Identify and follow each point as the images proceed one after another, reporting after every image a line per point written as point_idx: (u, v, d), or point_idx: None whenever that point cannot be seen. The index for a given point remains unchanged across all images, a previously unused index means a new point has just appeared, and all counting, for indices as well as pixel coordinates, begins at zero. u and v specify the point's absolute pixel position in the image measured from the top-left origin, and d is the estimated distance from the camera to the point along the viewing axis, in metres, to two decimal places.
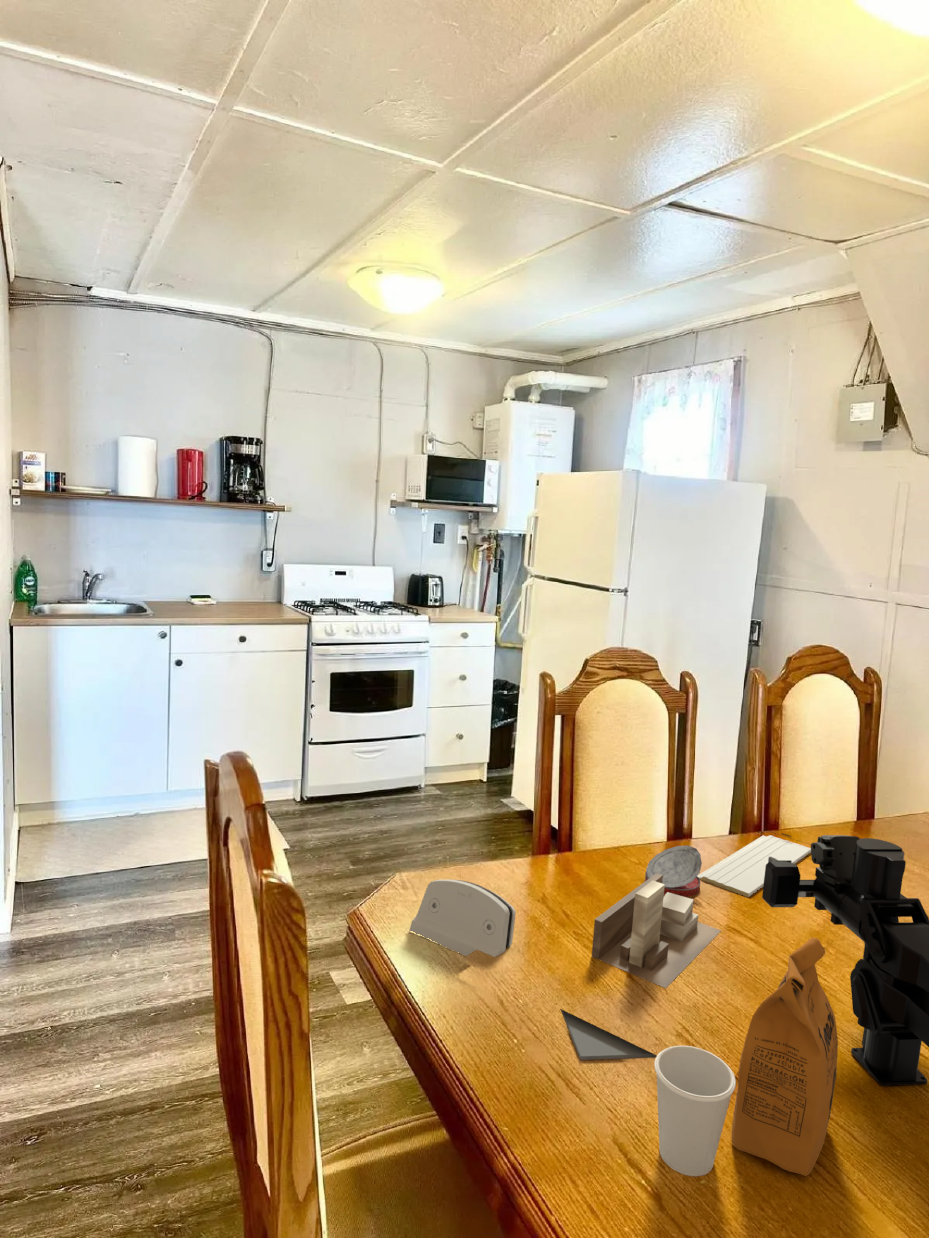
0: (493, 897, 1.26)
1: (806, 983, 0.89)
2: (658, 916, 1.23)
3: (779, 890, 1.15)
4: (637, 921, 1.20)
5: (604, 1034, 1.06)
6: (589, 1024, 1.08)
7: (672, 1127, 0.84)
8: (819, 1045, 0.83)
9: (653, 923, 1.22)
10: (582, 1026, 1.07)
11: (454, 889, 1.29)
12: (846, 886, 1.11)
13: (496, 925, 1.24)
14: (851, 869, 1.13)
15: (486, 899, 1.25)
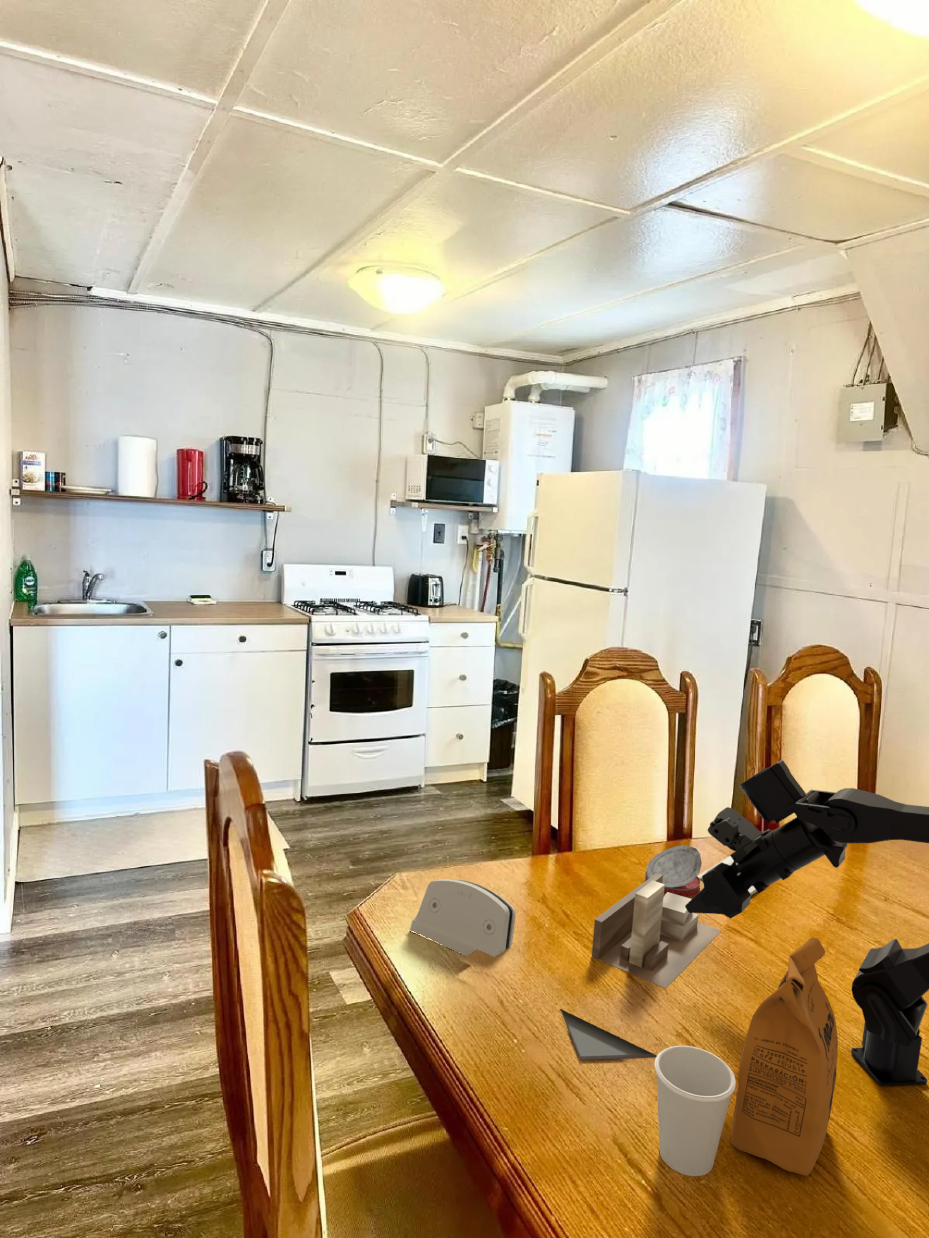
0: (493, 897, 1.26)
1: (806, 983, 0.89)
2: (658, 916, 1.23)
3: (733, 887, 1.06)
4: (637, 921, 1.20)
5: (604, 1034, 1.06)
6: (589, 1024, 1.08)
7: (672, 1127, 0.84)
8: (819, 1045, 0.83)
9: (653, 923, 1.22)
10: (582, 1026, 1.07)
11: (455, 889, 1.29)
12: (764, 837, 1.10)
13: (496, 925, 1.24)
14: (751, 830, 1.13)
15: (486, 899, 1.26)
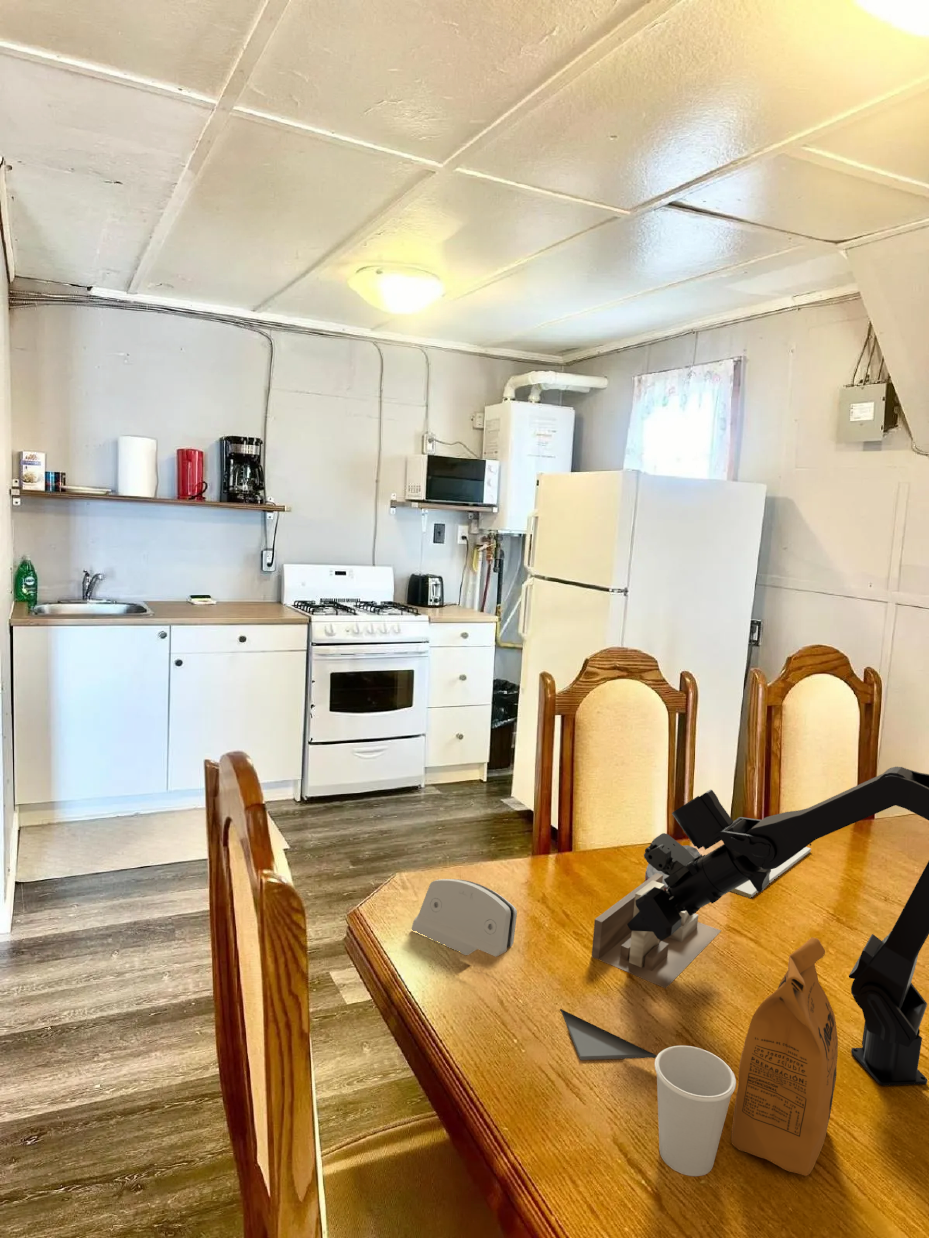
0: (494, 897, 1.26)
1: (806, 983, 0.89)
2: None
3: (663, 911, 1.12)
4: None
5: (604, 1034, 1.06)
6: (589, 1024, 1.08)
7: (672, 1127, 0.84)
8: (819, 1045, 0.83)
9: None
10: (582, 1026, 1.07)
11: (456, 889, 1.29)
12: (695, 863, 1.16)
13: (497, 925, 1.24)
14: (684, 855, 1.19)
15: (487, 899, 1.26)
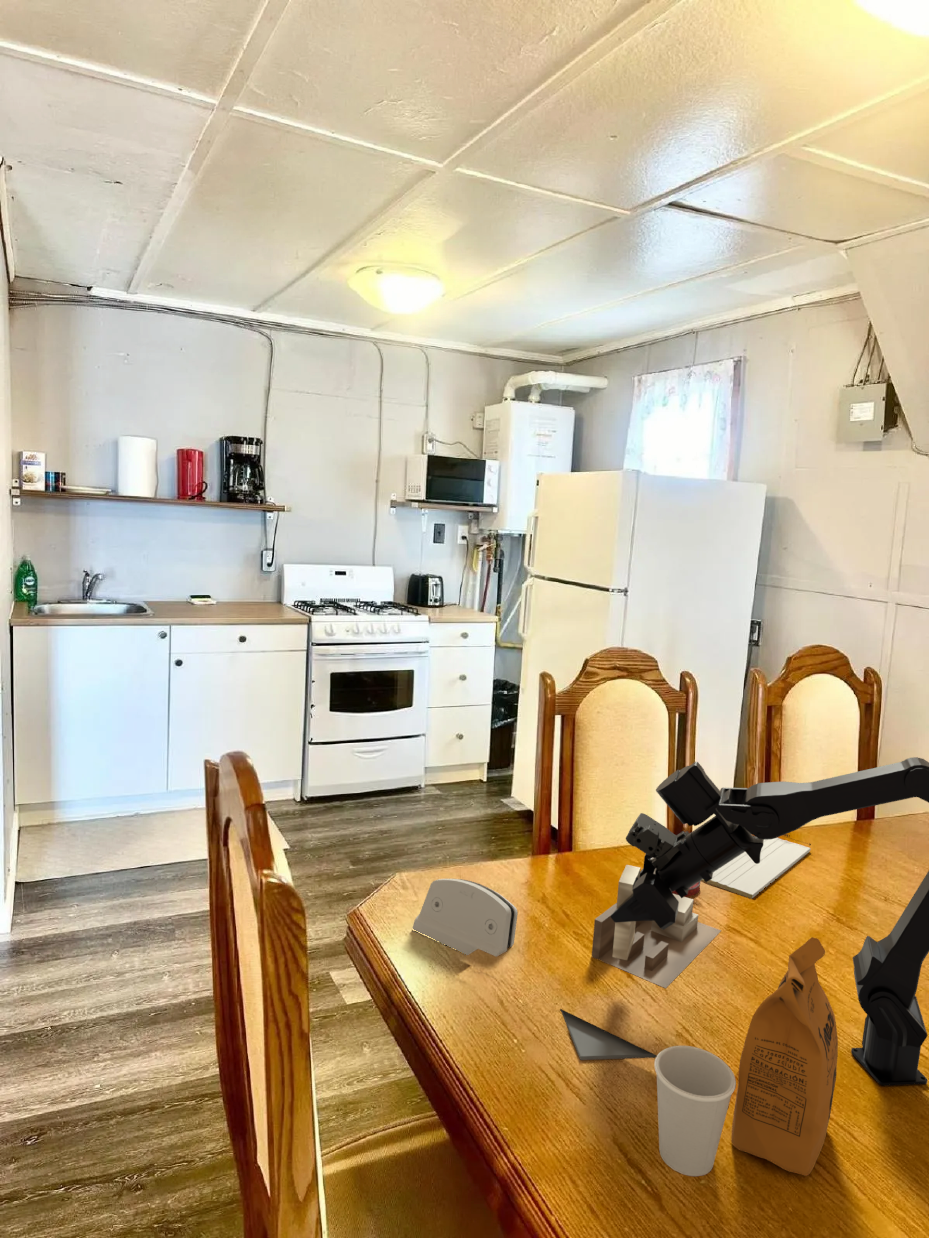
0: (495, 897, 1.26)
1: (806, 983, 0.89)
2: None
3: (665, 897, 1.03)
4: None
5: (604, 1034, 1.06)
6: (589, 1024, 1.08)
7: (672, 1127, 0.84)
8: (819, 1045, 0.83)
9: None
10: (582, 1026, 1.07)
11: (457, 888, 1.29)
12: (684, 841, 1.08)
13: (498, 925, 1.24)
14: (667, 834, 1.11)
15: (488, 899, 1.26)
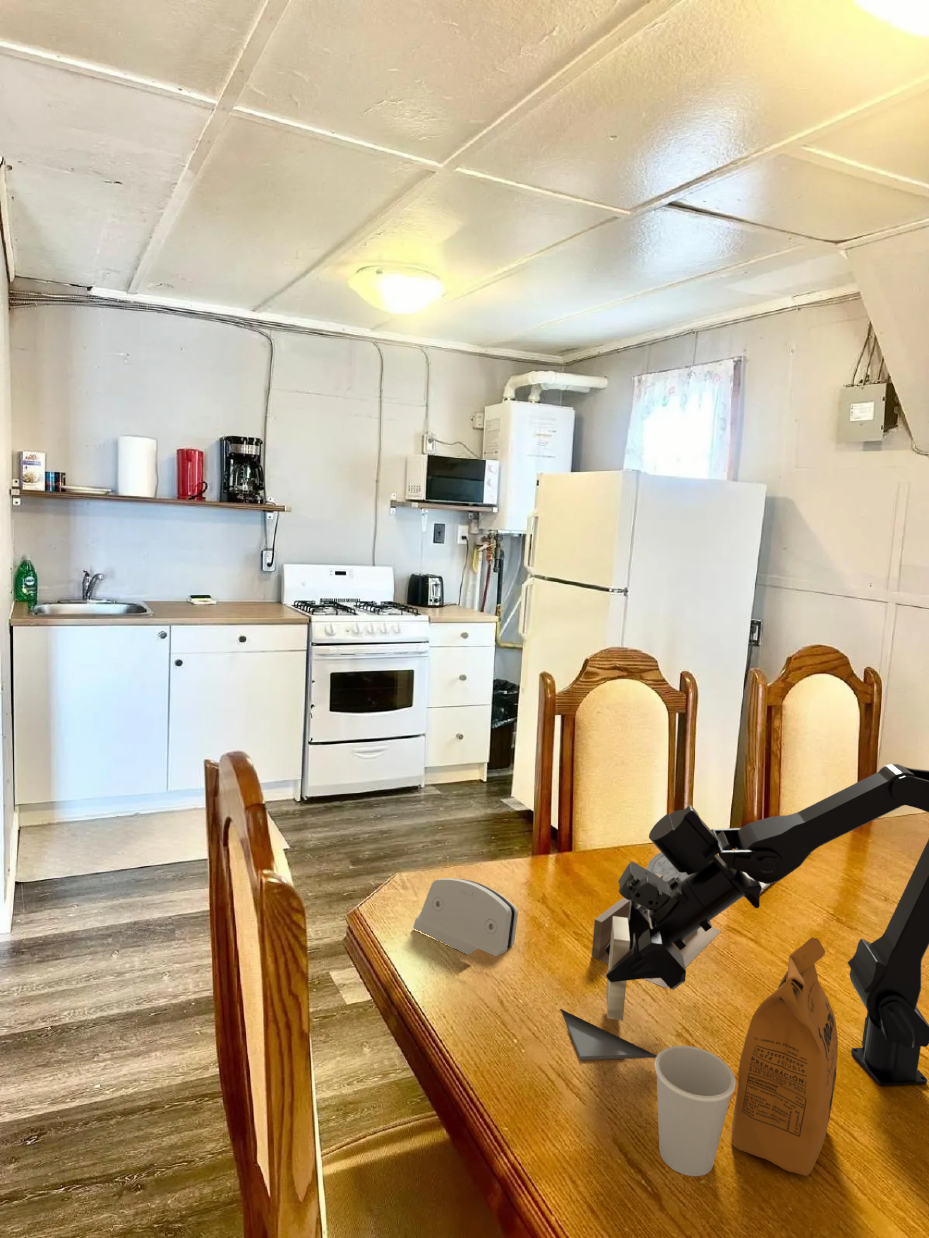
0: (495, 897, 1.26)
1: (806, 983, 0.89)
2: None
3: (674, 956, 0.97)
4: None
5: (604, 1034, 1.06)
6: (589, 1024, 1.08)
7: (672, 1127, 0.84)
8: (819, 1045, 0.83)
9: None
10: (582, 1026, 1.07)
11: (458, 888, 1.29)
12: (681, 890, 1.03)
13: (498, 925, 1.24)
14: (660, 883, 1.05)
15: (488, 898, 1.26)
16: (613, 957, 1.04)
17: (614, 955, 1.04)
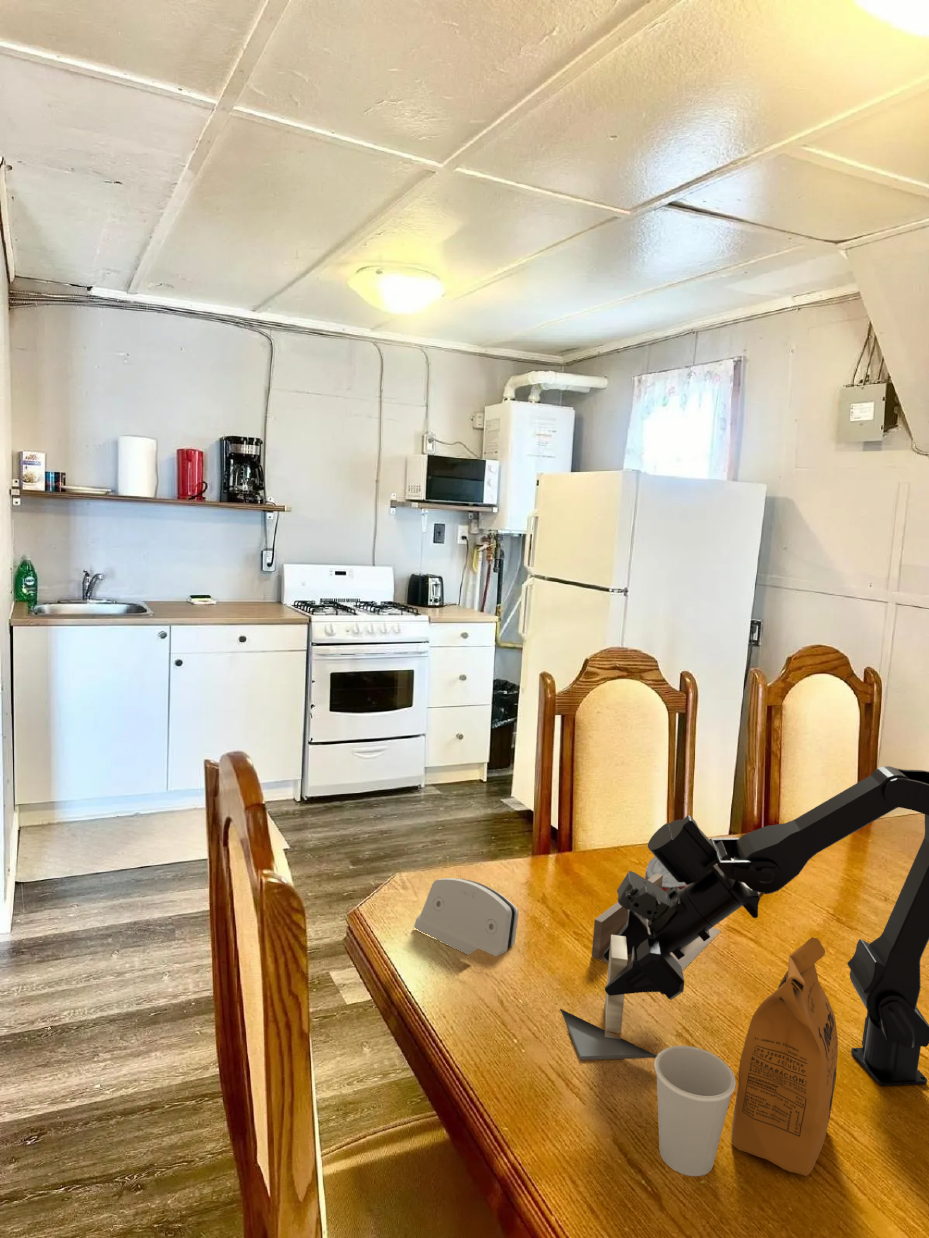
0: (496, 897, 1.26)
1: (806, 983, 0.89)
2: None
3: (672, 966, 0.97)
4: None
5: (604, 1034, 1.06)
6: (589, 1024, 1.08)
7: (672, 1127, 0.84)
8: (819, 1045, 0.83)
9: None
10: (582, 1026, 1.07)
11: (458, 888, 1.29)
12: (680, 900, 1.03)
13: (498, 925, 1.24)
14: (659, 892, 1.05)
15: (489, 898, 1.26)
16: (611, 976, 1.04)
17: (612, 974, 1.04)
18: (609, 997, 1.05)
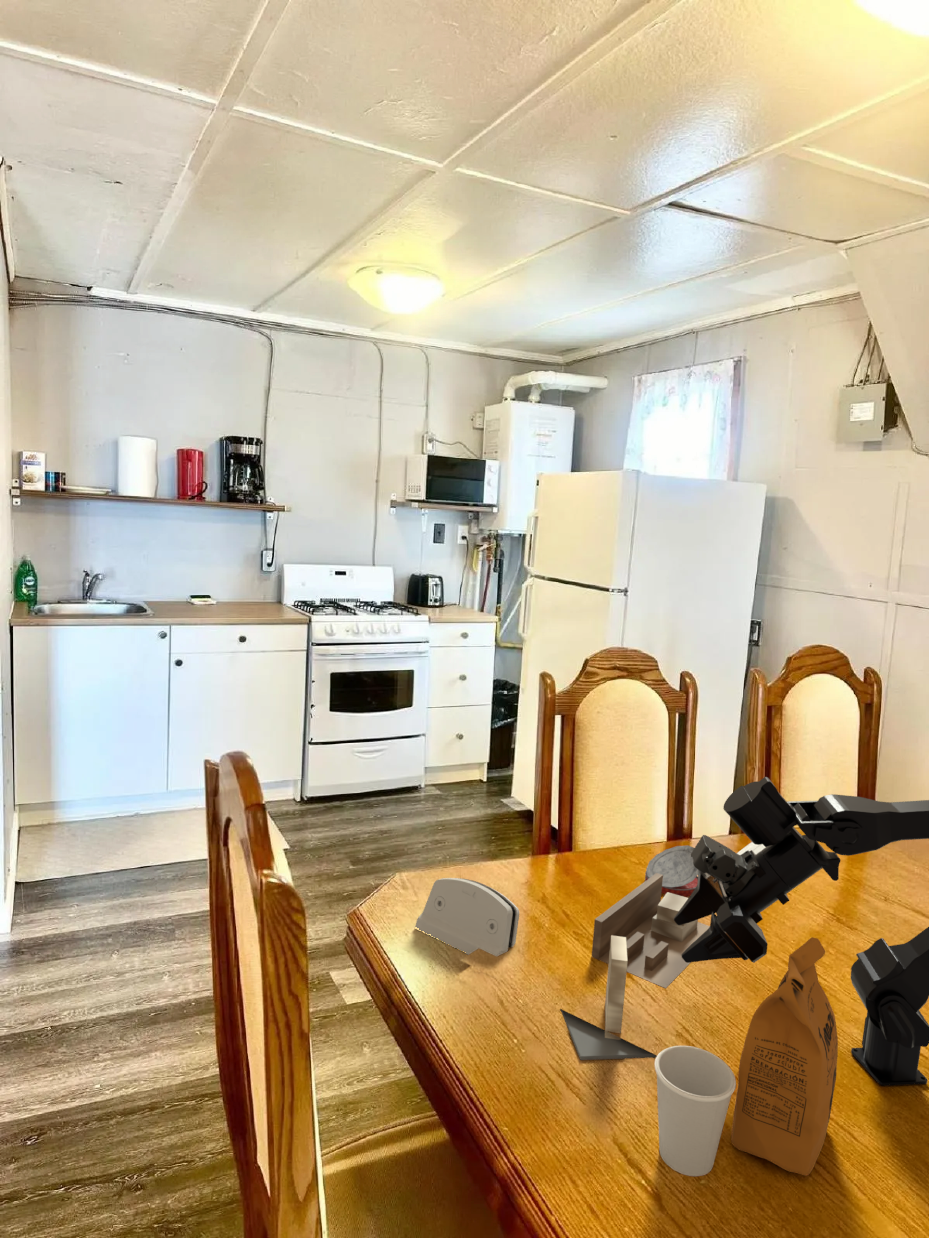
0: (497, 897, 1.26)
1: (806, 983, 0.89)
2: None
3: (755, 928, 0.95)
4: (614, 989, 1.04)
5: (604, 1034, 1.06)
6: (589, 1024, 1.08)
7: (672, 1127, 0.84)
8: (819, 1045, 0.83)
9: None
10: (582, 1026, 1.07)
11: (459, 888, 1.29)
12: (758, 863, 1.01)
13: (499, 924, 1.24)
14: (735, 856, 1.03)
15: (490, 898, 1.26)
16: (611, 977, 1.04)
17: (612, 975, 1.04)
18: (609, 998, 1.05)
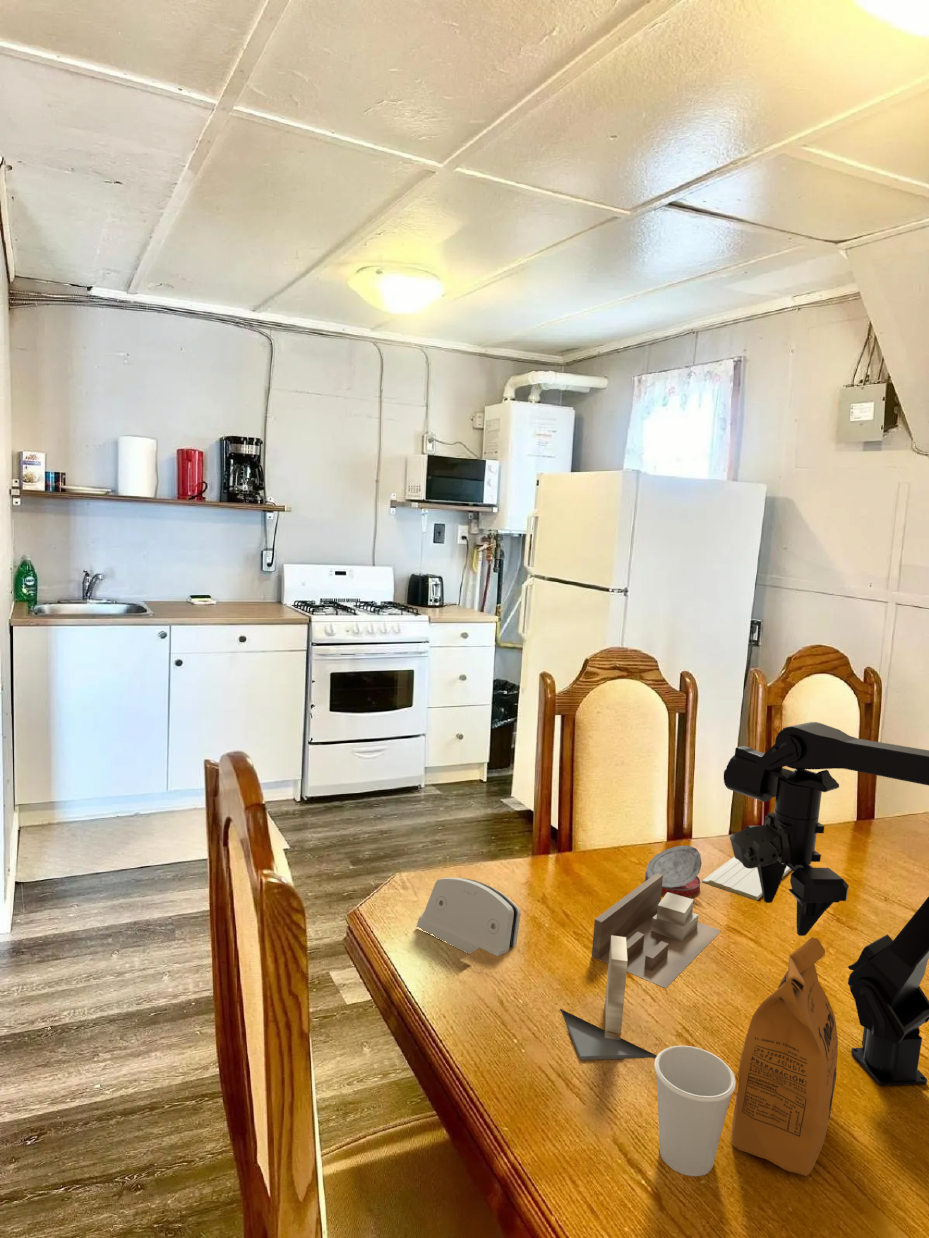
0: (498, 896, 1.26)
1: (806, 983, 0.89)
2: None
3: (826, 877, 1.05)
4: (614, 989, 1.04)
5: (604, 1034, 1.06)
6: (589, 1024, 1.08)
7: (672, 1127, 0.84)
8: (819, 1045, 0.83)
9: None
10: (582, 1026, 1.07)
11: (461, 887, 1.29)
12: (782, 823, 1.11)
13: (500, 924, 1.24)
14: (763, 830, 1.12)
15: (491, 898, 1.26)
16: (611, 977, 1.04)
17: (612, 975, 1.04)
18: (609, 998, 1.05)
